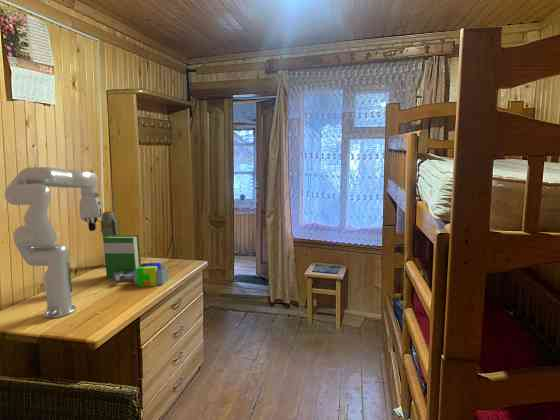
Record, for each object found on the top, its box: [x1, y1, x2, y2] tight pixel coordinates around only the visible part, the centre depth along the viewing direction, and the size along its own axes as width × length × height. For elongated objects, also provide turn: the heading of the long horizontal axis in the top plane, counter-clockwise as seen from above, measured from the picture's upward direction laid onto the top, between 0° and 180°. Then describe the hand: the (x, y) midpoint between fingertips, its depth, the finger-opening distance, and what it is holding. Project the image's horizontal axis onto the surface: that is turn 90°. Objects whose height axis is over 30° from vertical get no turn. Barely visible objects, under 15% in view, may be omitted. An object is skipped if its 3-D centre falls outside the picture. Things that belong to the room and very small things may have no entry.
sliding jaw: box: [115, 267, 138, 286], centre depth 211 cm, size 9×12×8 cm
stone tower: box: [100, 210, 119, 239], centre depth 247 cm, size 9×12×35 cm
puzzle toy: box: [137, 262, 162, 287], centre depth 211 cm, size 10×10×10 cm
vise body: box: [113, 265, 169, 286], centre depth 212 cm, size 12×30×8 cm, turn 92°
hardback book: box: [102, 234, 142, 280], centre depth 222 cm, size 18×7×24 cm, turn 84°
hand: (92, 230), depth 203 cm, fingers closed
